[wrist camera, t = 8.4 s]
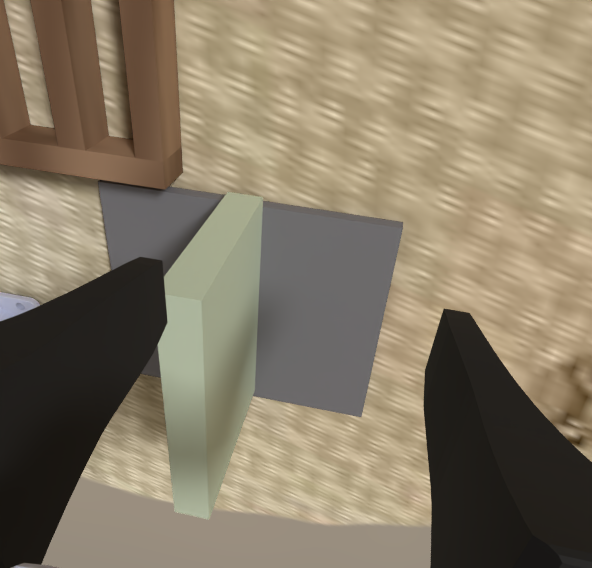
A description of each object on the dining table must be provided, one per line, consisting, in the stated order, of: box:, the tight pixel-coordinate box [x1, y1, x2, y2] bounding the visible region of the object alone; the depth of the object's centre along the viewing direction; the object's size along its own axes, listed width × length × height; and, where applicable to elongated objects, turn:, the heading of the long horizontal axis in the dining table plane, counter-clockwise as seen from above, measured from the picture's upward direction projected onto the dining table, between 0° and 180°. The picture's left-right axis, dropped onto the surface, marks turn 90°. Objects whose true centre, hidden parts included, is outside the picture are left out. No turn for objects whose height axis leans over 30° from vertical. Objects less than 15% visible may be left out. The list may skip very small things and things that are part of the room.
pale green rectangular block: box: [158, 192, 263, 519], centre depth 22 cm, size 2×12×8 cm, turn 175°
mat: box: [98, 180, 403, 417], centre depth 26 cm, size 14×12×1 cm
